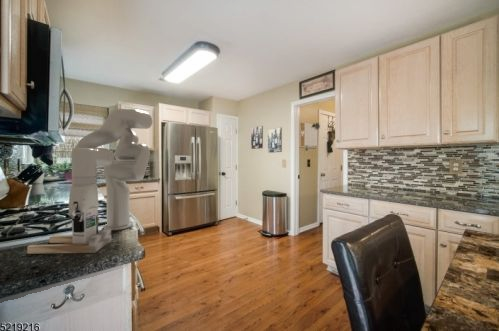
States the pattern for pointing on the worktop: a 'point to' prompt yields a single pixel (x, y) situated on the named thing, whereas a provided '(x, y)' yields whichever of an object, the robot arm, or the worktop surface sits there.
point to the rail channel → (72, 244)
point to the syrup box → (87, 226)
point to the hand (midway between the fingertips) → (85, 228)
